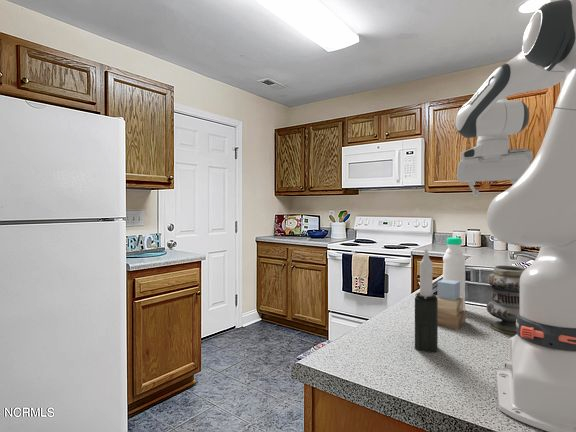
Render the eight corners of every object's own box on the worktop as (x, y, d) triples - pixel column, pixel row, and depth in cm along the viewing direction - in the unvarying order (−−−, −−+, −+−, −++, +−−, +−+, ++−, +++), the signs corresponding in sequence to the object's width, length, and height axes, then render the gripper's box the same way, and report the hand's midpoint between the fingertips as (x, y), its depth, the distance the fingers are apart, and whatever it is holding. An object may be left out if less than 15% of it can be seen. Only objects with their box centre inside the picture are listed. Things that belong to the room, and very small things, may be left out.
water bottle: (438, 308, 122) (438, 237, 121) (452, 306, 125) (452, 236, 124) (455, 314, 115) (455, 238, 115) (470, 311, 118) (470, 238, 118)
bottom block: (458, 329, 101) (457, 316, 101) (430, 324, 107) (430, 311, 107) (465, 323, 107) (465, 310, 107) (438, 317, 113) (438, 305, 113)
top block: (456, 315, 102) (456, 302, 102) (431, 311, 107) (431, 298, 106) (462, 310, 107) (462, 297, 107) (439, 306, 112) (439, 293, 112)
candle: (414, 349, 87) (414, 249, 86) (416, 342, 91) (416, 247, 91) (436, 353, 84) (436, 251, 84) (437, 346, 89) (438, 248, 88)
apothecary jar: (503, 337, 94) (503, 271, 94) (477, 322, 106) (478, 264, 106) (546, 336, 95) (547, 270, 94) (516, 322, 107) (516, 263, 106)
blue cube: (454, 300, 103) (454, 284, 103) (437, 297, 107) (437, 281, 107) (459, 297, 107) (459, 281, 107) (442, 294, 111) (443, 279, 110)
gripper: (534, 148, 104) (533, 194, 105) (460, 155, 118) (460, 196, 118) (531, 145, 100) (531, 194, 100) (455, 153, 113) (455, 196, 113)
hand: (492, 195), depth 109 cm, fingers open, 8 cm apart
